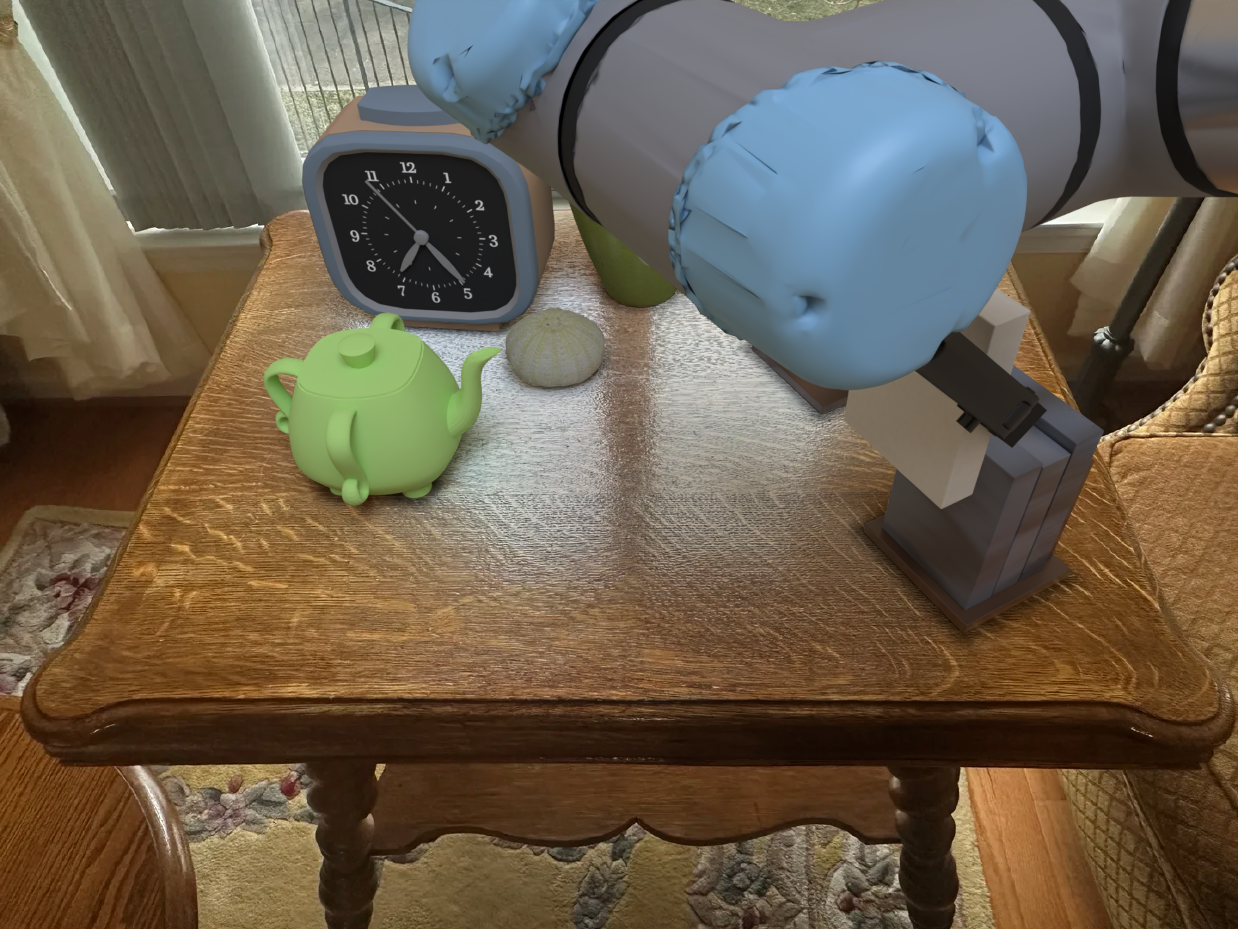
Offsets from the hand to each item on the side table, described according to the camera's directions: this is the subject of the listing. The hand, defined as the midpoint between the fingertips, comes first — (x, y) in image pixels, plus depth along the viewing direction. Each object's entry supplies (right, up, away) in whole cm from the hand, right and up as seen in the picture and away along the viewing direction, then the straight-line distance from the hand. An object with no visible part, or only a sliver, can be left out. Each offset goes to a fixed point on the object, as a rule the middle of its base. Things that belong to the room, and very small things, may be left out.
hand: (961, 377), depth 55 cm
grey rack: (+6, -12, +16) cm, 21 cm away
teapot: (-39, -5, +26) cm, 47 cm away
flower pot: (-18, +13, +43) cm, 48 cm away
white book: (-3, -5, +2) cm, 6 cm away
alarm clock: (-37, +11, +41) cm, 57 cm away
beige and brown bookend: (+1, +5, +33) cm, 34 cm away
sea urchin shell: (-26, +4, +34) cm, 43 cm away
